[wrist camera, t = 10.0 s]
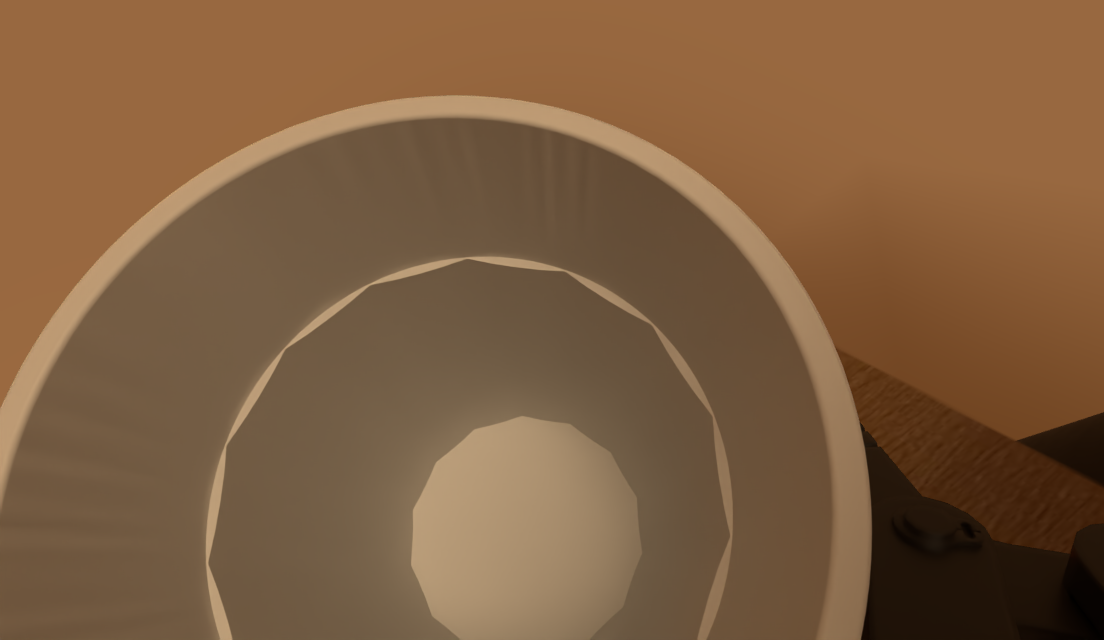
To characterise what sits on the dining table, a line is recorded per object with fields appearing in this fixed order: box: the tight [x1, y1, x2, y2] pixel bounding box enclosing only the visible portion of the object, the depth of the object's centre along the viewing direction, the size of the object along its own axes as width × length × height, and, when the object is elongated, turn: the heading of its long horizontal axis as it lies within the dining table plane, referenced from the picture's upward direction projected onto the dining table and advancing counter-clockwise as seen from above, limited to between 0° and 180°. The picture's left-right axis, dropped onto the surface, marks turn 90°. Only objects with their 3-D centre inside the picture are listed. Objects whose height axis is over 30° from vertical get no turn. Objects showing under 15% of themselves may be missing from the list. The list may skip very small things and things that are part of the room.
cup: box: [0, 96, 872, 640], centre depth 11 cm, size 8×8×12 cm
